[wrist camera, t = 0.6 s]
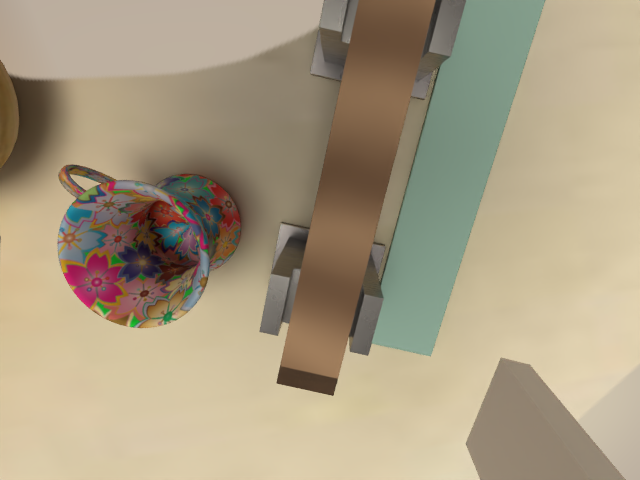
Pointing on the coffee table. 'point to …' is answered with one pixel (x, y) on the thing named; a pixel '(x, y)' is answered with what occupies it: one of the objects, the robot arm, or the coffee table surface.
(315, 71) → the post
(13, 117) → the decorative ball
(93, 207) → the mug
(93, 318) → the coffee table surface
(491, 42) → the mat
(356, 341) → the post
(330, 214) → the rail
